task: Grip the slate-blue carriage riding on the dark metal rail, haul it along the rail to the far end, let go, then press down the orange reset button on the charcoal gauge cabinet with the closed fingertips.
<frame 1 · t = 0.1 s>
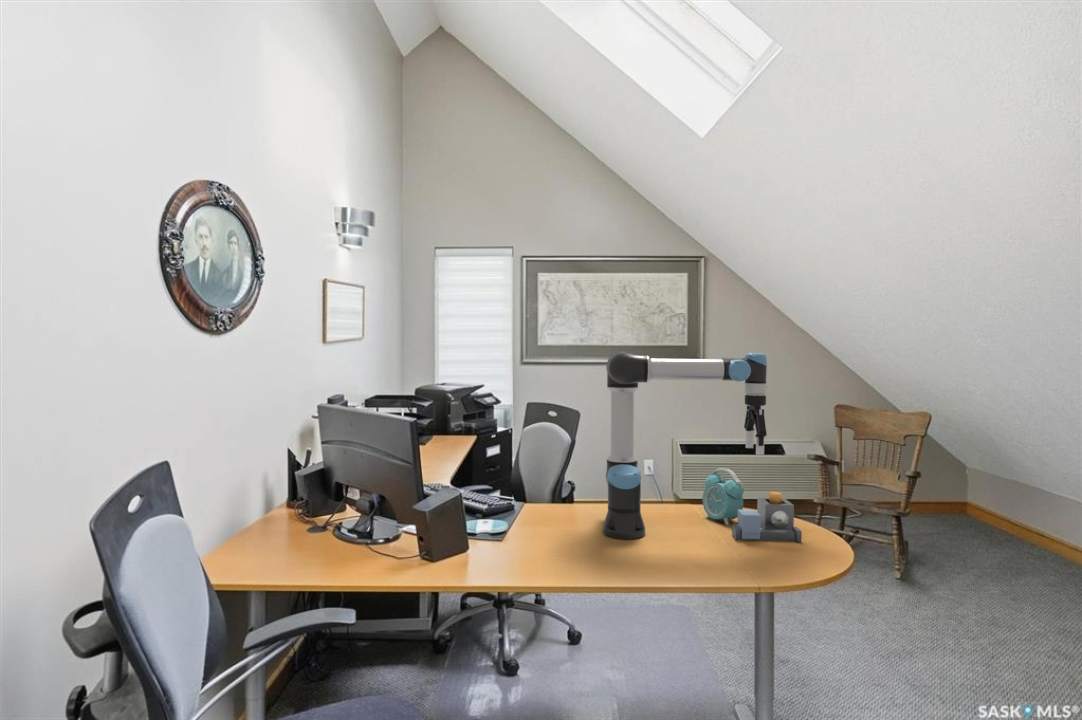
hand: (754, 451, 223), 28 cm above the table, fingers open, 13 cm apart
rail: (766, 539, 208), on the table
reset button: (775, 498, 220), point 11 cm above the table, slide at 0.0 cm
carriage: (748, 524, 208), point 5 cm above the table, slide at 0.0 cm
gauge cabinet: (774, 528, 220), on the table
alarm clock: (722, 520, 230), on the table
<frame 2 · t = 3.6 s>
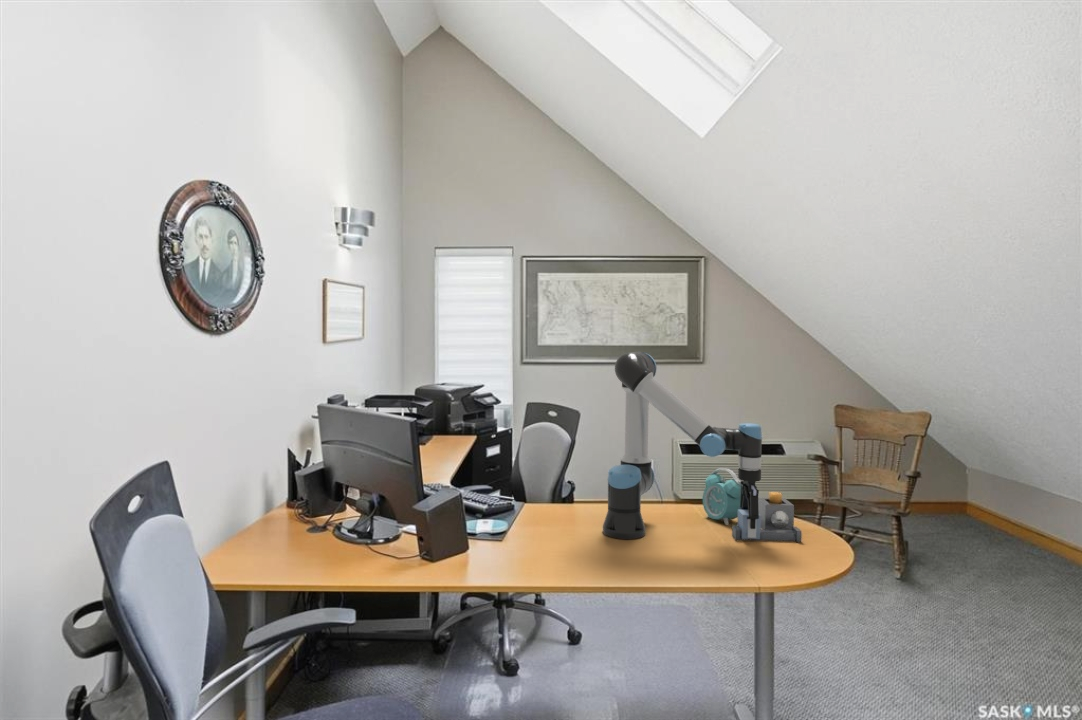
hand: (748, 533, 208), 2 cm above the table, fingers closed on carriage, 7 cm apart
carriage: (748, 524, 208), point 5 cm above the table, slide at 0.0 cm, touching gripper
everything else where it was.
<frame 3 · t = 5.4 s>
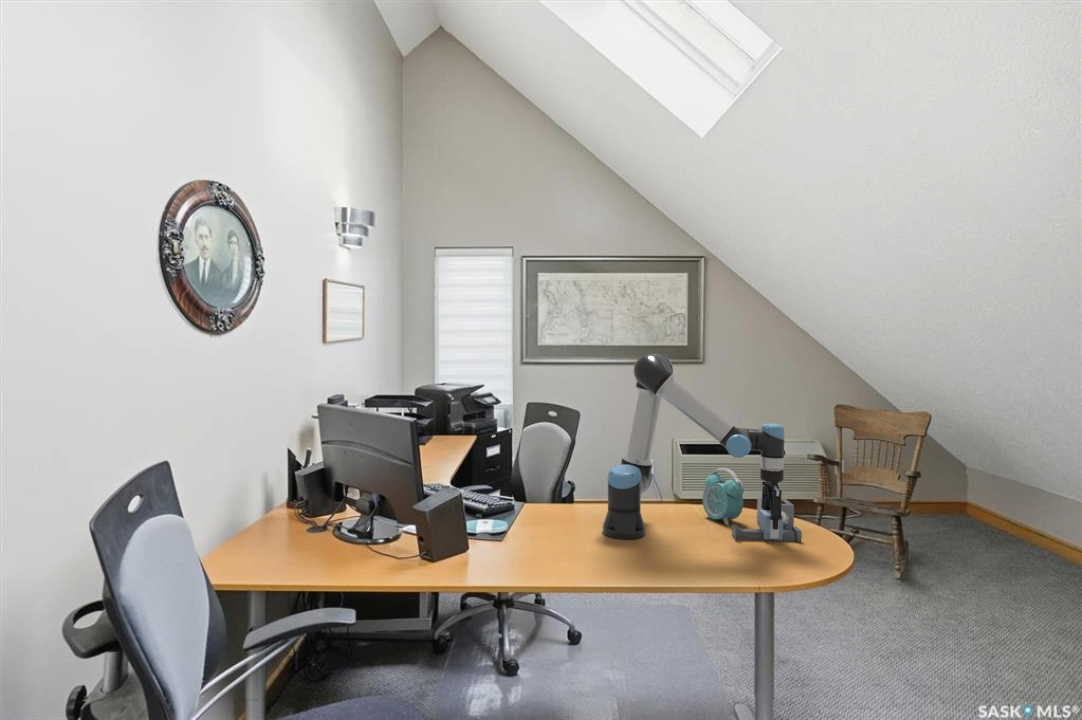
hand: (770, 534, 207), 2 cm above the table, fingers closed on carriage, 7 cm apart
carriage: (770, 524, 207), point 5 cm above the table, slide at 7.5 cm, touching gripper
everything else where it was.
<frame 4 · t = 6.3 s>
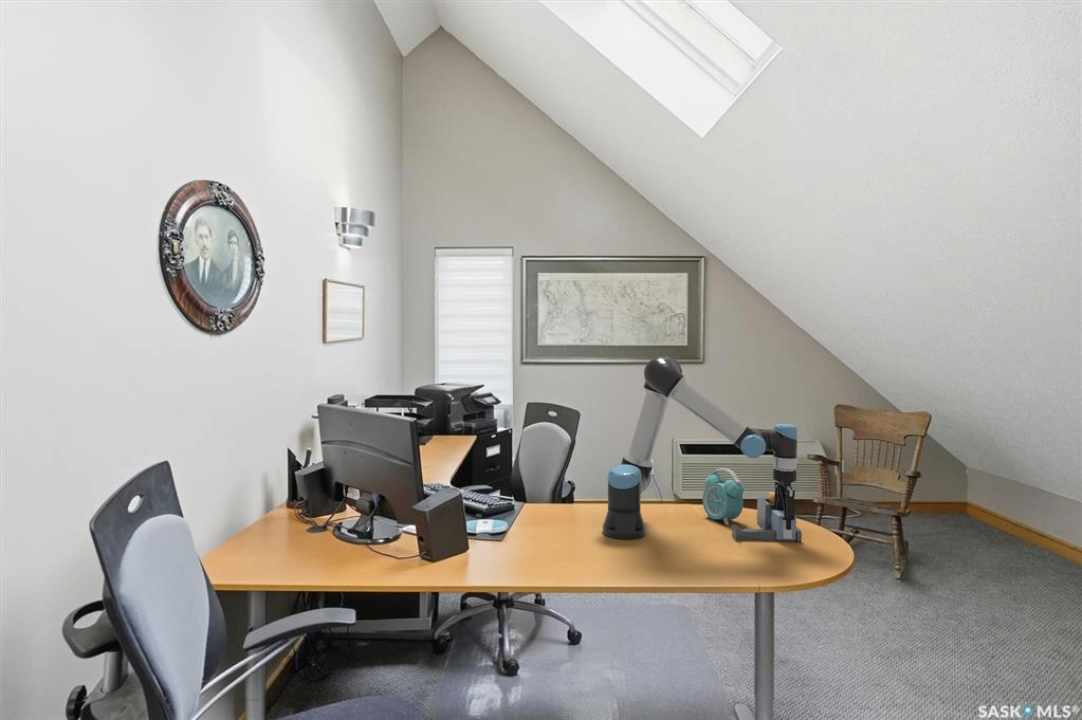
hand: (783, 534, 207), 2 cm above the table, fingers closed on carriage, 7 cm apart
carriage: (783, 525, 207), point 5 cm above the table, slide at 11.9 cm, touching gripper
everything else where it was.
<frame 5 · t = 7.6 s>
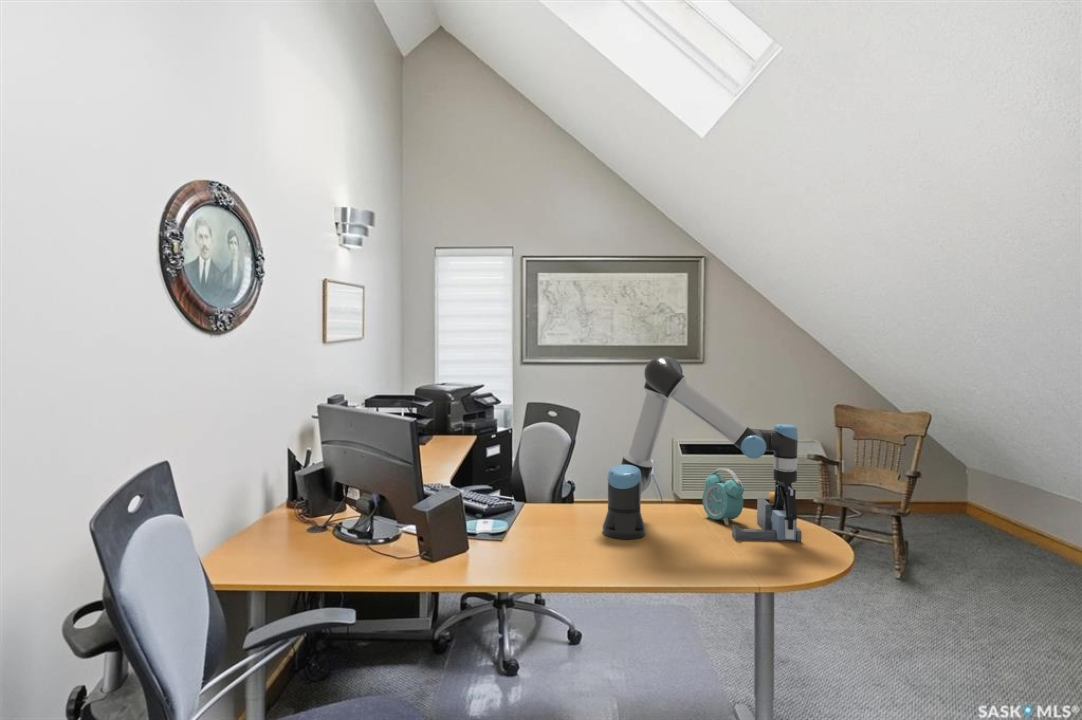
hand: (784, 533, 207), 2 cm above the table, fingers open, 10 cm apart
carriage: (784, 525, 207), point 5 cm above the table, slide at 12.0 cm
everything else where it was.
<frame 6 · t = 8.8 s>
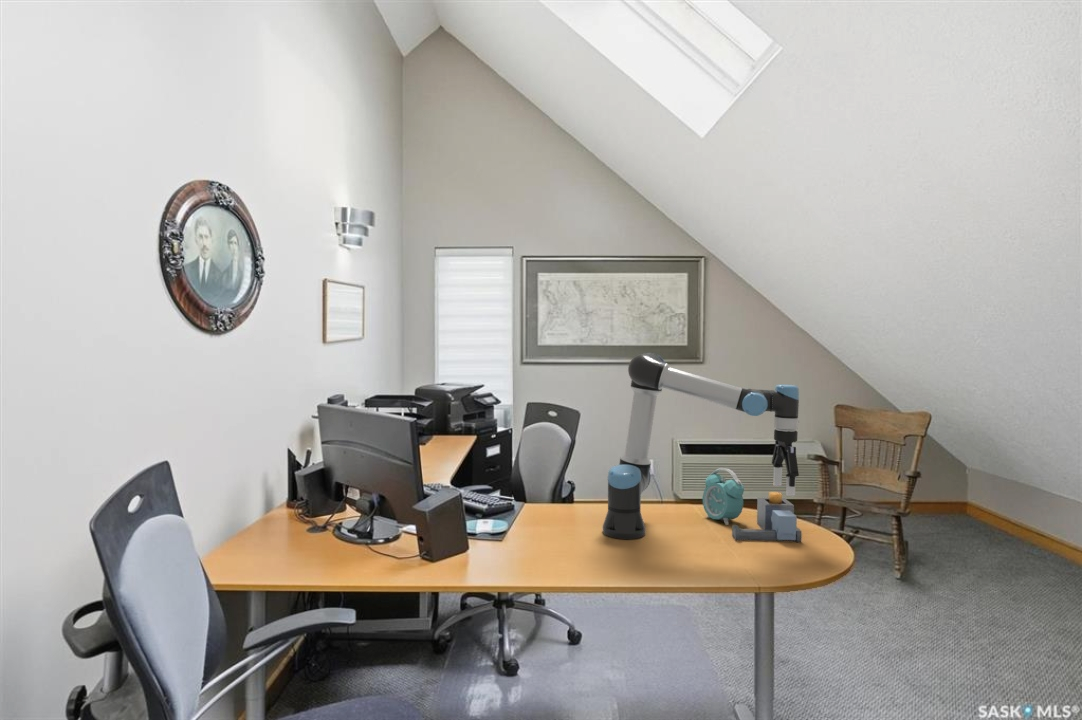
hand: (783, 490, 207), 17 cm above the table, fingers open, 13 cm apart
nothing on the table moved.
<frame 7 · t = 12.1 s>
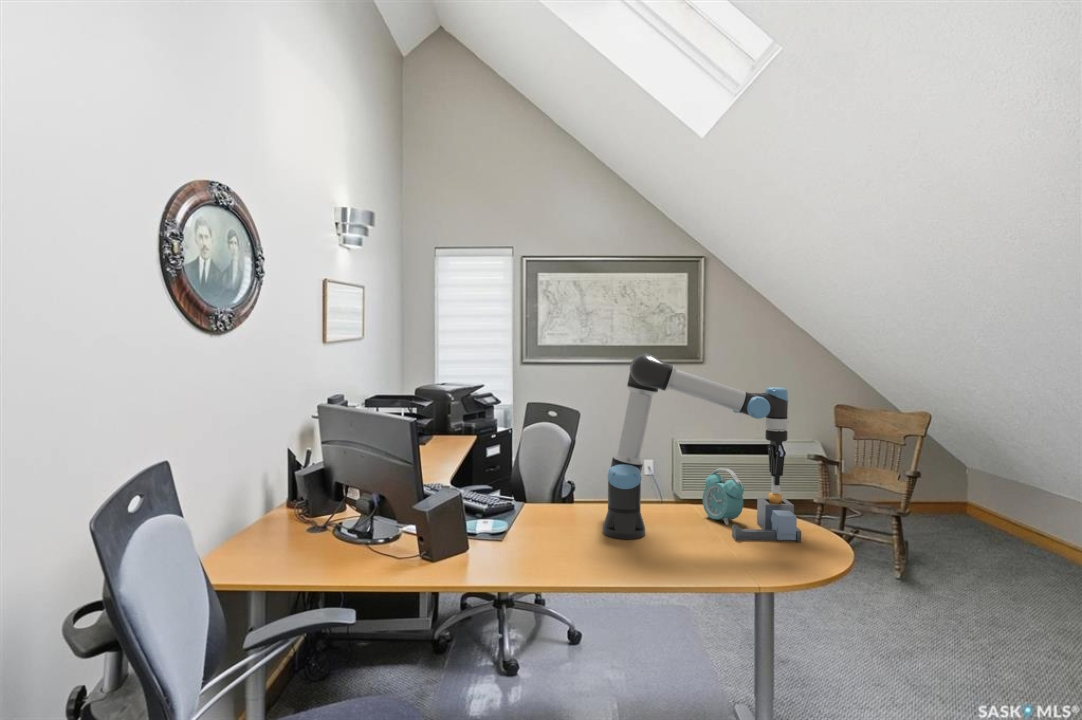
hand: (775, 493, 220), 13 cm above the table, fingers closed
reset button: (775, 498, 220), point 11 cm above the table, slide at 0.3 cm, touching gripper
everything else where it was.
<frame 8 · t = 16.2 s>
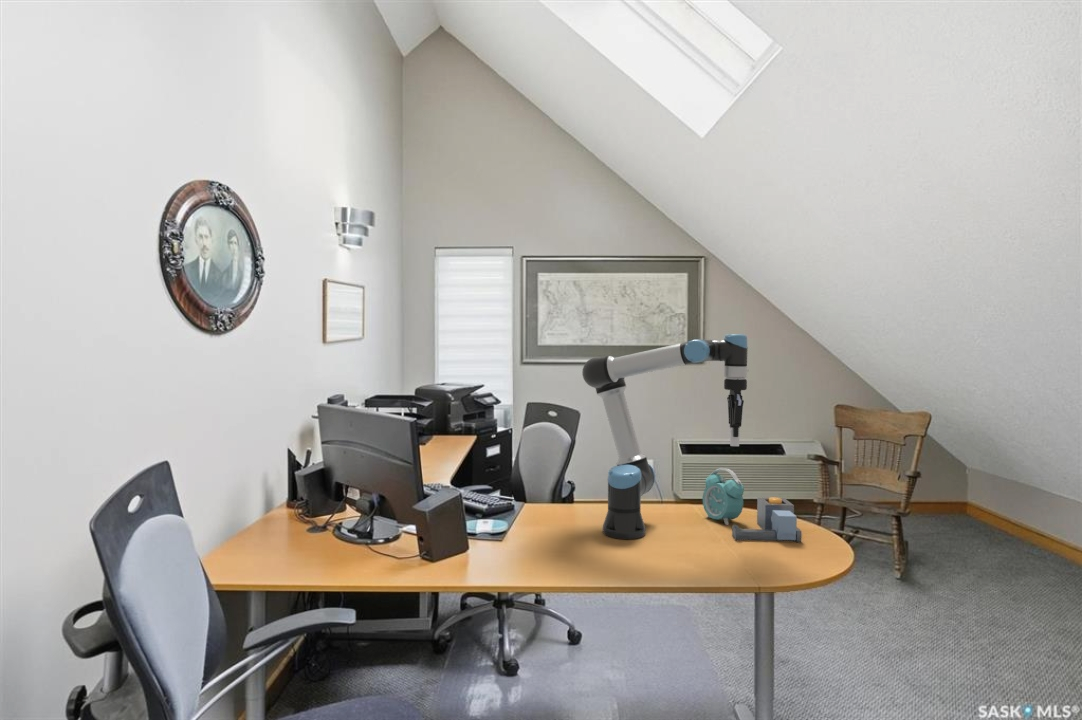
hand: (734, 445, 208), 32 cm above the table, fingers closed
reset button: (775, 503, 220), point 9 cm above the table, slide at 2.0 cm
everything else where it was.
at the end: carriage slide at 12.0 cm; reset button slide at 2.0 cm; the gripper is holding nothing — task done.
